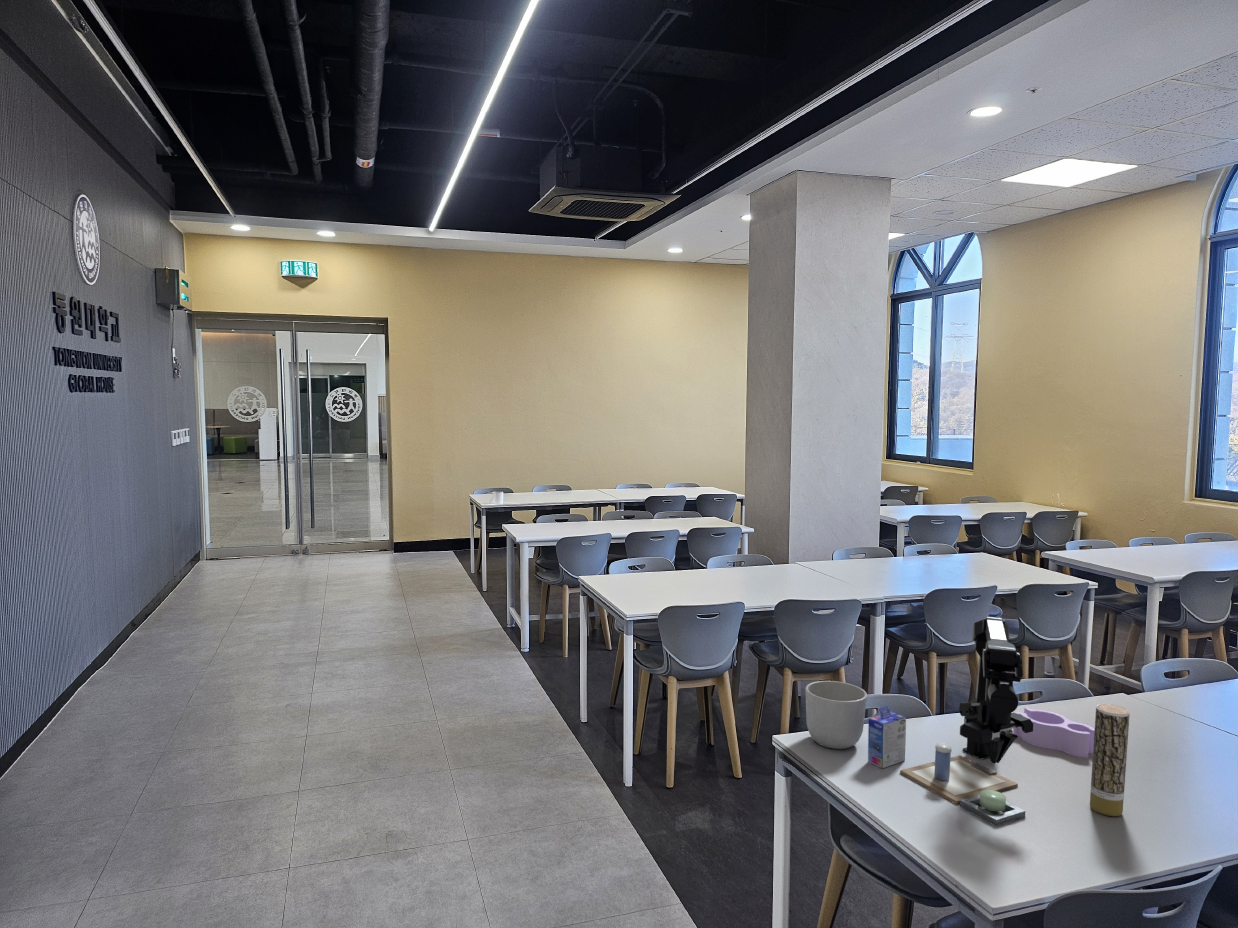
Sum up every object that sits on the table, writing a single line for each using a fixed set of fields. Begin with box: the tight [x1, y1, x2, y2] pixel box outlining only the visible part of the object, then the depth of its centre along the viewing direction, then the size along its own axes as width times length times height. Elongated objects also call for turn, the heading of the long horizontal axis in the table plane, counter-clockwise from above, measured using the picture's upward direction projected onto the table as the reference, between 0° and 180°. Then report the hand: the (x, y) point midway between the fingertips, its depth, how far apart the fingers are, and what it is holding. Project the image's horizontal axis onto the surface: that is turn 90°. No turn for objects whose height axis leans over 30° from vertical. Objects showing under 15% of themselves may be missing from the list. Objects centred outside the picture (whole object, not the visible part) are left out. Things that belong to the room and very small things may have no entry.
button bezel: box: [959, 795, 1026, 827], centre depth 189 cm, size 10×10×2 cm
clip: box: [1012, 706, 1095, 758], centre depth 230 cm, size 20×12×7 cm, turn 38°
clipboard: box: [899, 755, 1019, 805], centre depth 205 cm, size 22×18×1 cm
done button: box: [979, 790, 1007, 813], centre depth 189 cm, size 6×6×2 cm
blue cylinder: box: [934, 742, 952, 781], centre depth 204 cm, size 4×4×9 cm
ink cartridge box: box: [867, 705, 907, 769], centre depth 215 cm, size 10×6×14 cm, turn 124°
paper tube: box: [1089, 703, 1131, 817], centre depth 190 cm, size 7×7×25 cm
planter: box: [805, 680, 868, 750], centre depth 226 cm, size 17×17×15 cm
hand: (994, 762), depth 188 cm, fingers closed
